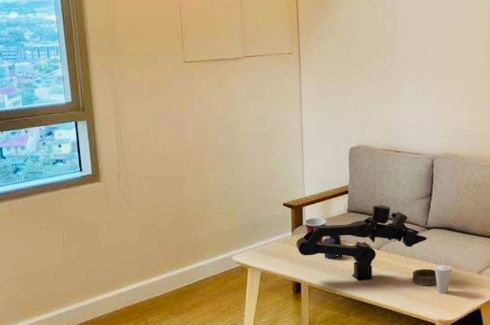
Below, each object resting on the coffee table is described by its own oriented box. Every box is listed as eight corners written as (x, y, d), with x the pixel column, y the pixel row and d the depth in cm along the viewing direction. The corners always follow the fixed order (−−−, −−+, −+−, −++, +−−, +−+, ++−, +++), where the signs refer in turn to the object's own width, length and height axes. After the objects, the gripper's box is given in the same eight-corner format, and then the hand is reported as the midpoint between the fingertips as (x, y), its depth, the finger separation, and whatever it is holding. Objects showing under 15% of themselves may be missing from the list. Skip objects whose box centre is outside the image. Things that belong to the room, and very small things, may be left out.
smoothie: (448, 295, 239) (449, 260, 237) (431, 293, 242) (432, 258, 240) (453, 290, 244) (453, 255, 242) (436, 287, 248) (436, 253, 245)
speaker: (334, 253, 295) (333, 232, 292) (342, 256, 290) (341, 235, 287) (321, 257, 291) (320, 236, 289) (329, 261, 287) (327, 240, 284)
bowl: (422, 287, 248) (422, 280, 248) (406, 278, 259) (406, 271, 259) (448, 283, 251) (448, 276, 251) (431, 274, 262) (431, 267, 262)
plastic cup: (303, 247, 306) (303, 223, 305) (305, 241, 317) (305, 217, 315) (326, 247, 305) (326, 223, 303) (327, 241, 315) (326, 217, 313)
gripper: (396, 218, 250) (434, 222, 251) (382, 207, 268) (417, 211, 269) (391, 245, 251) (429, 249, 253) (378, 232, 270) (413, 236, 271)
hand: (422, 235), depth 261 cm, fingers open, 9 cm apart
